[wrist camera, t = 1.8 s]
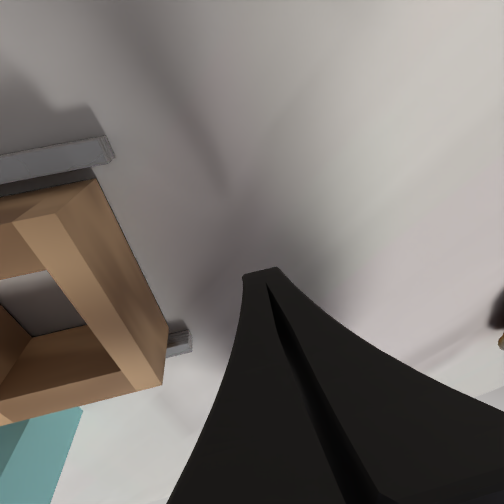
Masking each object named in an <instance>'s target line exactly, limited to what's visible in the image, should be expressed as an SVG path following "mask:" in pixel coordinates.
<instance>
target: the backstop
mask: <svg viewBox="0 0 504 504" xmlns="http://www.w3.org/2000/svg"><path fill="white" fill-rule="evenodd" d="M114 158H115V156H114V153H113V151H112V149H111V146H110V144H109V141H108V139H107V137H106V136H100V137H95V138H90V139H84V140H79V141H73V142H68V143H63V144H57V145H52V146H47V147H41V148H36V149H30V150H25V151H20V152H14V153H9V154H4V155H0V184H4V183H9V182H15V181H20V180H25V179H30V178H35V177H40V176H46V175H51V174H56V173H61V172H66V171H71V170H77V169H82V168H87V167H92V166H97V165H102V164H108V163H109V162H110V161H111V160H113V159H114ZM189 352H192V336H191V334H190V331H189V330H185V331H181V332H177V333H173V334H169V335H168V341H167V349H166V357H165V358H169V357H173V356H177V355H181V354H185V353H189Z"/></svg>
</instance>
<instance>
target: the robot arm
mask: <svg viewBox="0 0 504 504" xmlns="http://www.w3.org/2000/svg"><path fill="white" fill-rule="evenodd" d="M242 280H243V295H242V305H241V311H240V318H239V323H238V327H237V332H236V336H235V341H234V344H233V348H232V352H231V355H230V358H229V362H228V365H227V368H226V371H225V374H224V377H223V380H222V382H221V385H220V388H219V391H218V393H217V396H216V399H215V401H214V404H213V406H212V409H211V411H210V413H209V415H208V418H207V420H206V422H205V425H204V427H203V429H202V431H201V434H200V436H199V438H198V441H197V443H196V445H195V447H194V449H193V451H192V454H191V456H190V458H189V460H188V462H187V464H186V466H185V468H184V470H183V472H182V474H181V476H180V478H179V480H178V482H177V484H176V486H175V488H174V490H173V492H172V494H171V496H170V498H169V500H168V502H167V503H166V504H504V412H503V411H501V410H499V409H497V408H495V407H492V406H490V405H488V404H486V403H483V402H481V401H479V400H477V399H475V398H472V397H470V396H468V395H466V394H463V393H461V392H459V391H457V390H455V389H452V388H450V387H448V386H446V385H444V384H442V383H440V382H438V381H436V380H434V379H432V378H430V377H428V376H426V375H424V374H422V373H420V372H418V371H417V370H415V369H413V368H411V367H410V366H408V365H406V364H404V363H402V362H401V361H399V360H397V359H395V358H394V357H392V356H390V355H388V354H386V353H385V352H383V351H381V350H379V349H378V348H376V347H375V346H373V345H371V344H370V343H368V342H367V341H365V340H364V339H362V338H360V337H359V336H357V335H356V334H355V333H353V332H352V331H350V330H349V329H347V328H346V327H344V326H343V325H342V324H340V323H339V322H338V321H336V320H335V319H334V318H332V317H331V316H330V315H328V314H327V313H326V312H325V311H323V310H322V309H321V308H320V307H318V306H317V305H316V304H315V303H314V302H313V301H312V300H310V299H309V298H308V297H307V296H306V295H305V294H304V293H303V292H301V291H300V290H299V289H298V288H297V287H296V286H295V285H294V284H293V283H292V282H291V281H290V280H289V279H288V278H287V277H286V276H285V275H284V273H283V272H282V271H281V270H280V269H279V268H277V267H273V268H269V269H265V270H260V271H256V272H252V273H248V274H244V275H243V277H242Z"/></svg>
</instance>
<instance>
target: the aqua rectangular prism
mask: <svg viewBox="0 0 504 504" xmlns="http://www.w3.org/2000/svg"><path fill="white" fill-rule="evenodd" d="M82 412H83V410H82V409H80V408H79V407H74V408H70V409H66V410H62V411H58V412H54V413H50V414H47V415H43V416H39V417H35V418H31V419H27V420H23V421H19V422H15V423H11V424H7V425H3V426H0V504H50V502H51V500H52V497H53V494H54V491H55V488H56V486H57V483H58V480H59V477H60V474H61V472H62V469H63V466H64V463H65V460H66V457H67V455H68V452H69V449H70V446H71V443H72V441H73V438H74V435H75V432H76V429H77V426H78V424H79V421H80V418H81V415H82Z"/></svg>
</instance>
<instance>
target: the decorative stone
mask: <svg viewBox="0 0 504 504" xmlns="http://www.w3.org/2000/svg"><path fill="white" fill-rule="evenodd" d="M498 346H499V347H500V349H501V350H504V333H503V336H502V337H501V338H500V339H499V341H498Z"/></svg>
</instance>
